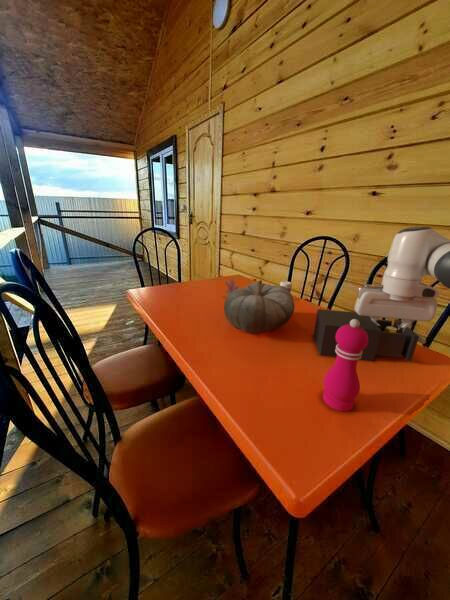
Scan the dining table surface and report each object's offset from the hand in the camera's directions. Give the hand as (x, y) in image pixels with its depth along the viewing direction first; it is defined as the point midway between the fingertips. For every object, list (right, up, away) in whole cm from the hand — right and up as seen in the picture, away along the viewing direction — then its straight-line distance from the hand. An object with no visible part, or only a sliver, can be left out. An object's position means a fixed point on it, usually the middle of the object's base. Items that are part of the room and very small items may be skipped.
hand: (387, 330), depth 76 cm
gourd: (-37, -1, +17) cm, 41 cm away
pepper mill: (-23, -14, -19) cm, 33 cm away
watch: (+1, -5, +2) cm, 5 cm away
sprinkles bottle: (-25, +3, +29) cm, 38 cm away
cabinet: (-12, -6, +4) cm, 14 cm away
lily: (-45, +9, +45) cm, 64 cm away
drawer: (0, -6, +2) cm, 6 cm away
